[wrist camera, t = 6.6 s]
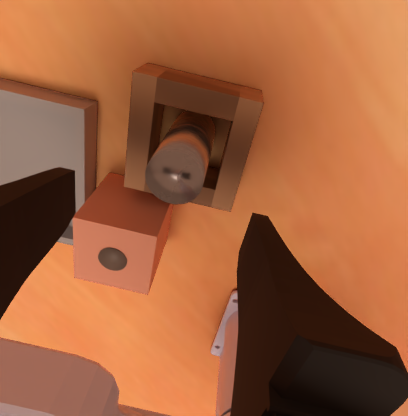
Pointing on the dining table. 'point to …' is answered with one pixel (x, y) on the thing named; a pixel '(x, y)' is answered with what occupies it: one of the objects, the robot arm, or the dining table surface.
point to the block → (120, 236)
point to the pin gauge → (182, 159)
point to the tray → (48, 137)
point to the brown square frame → (197, 102)
